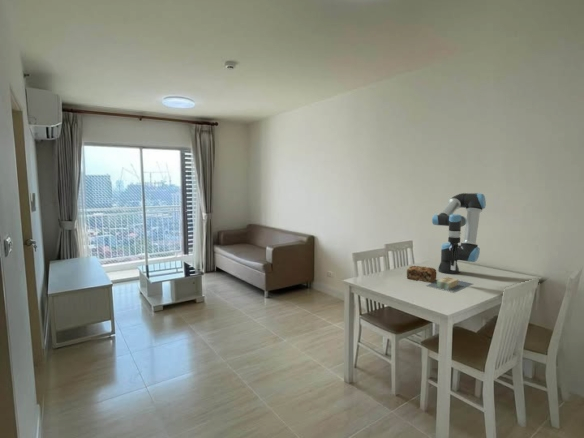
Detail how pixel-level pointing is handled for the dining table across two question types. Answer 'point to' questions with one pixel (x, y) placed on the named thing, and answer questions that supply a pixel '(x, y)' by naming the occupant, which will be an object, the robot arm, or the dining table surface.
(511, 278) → the dining table surface
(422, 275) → the bread
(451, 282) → the slab
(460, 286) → the mat
